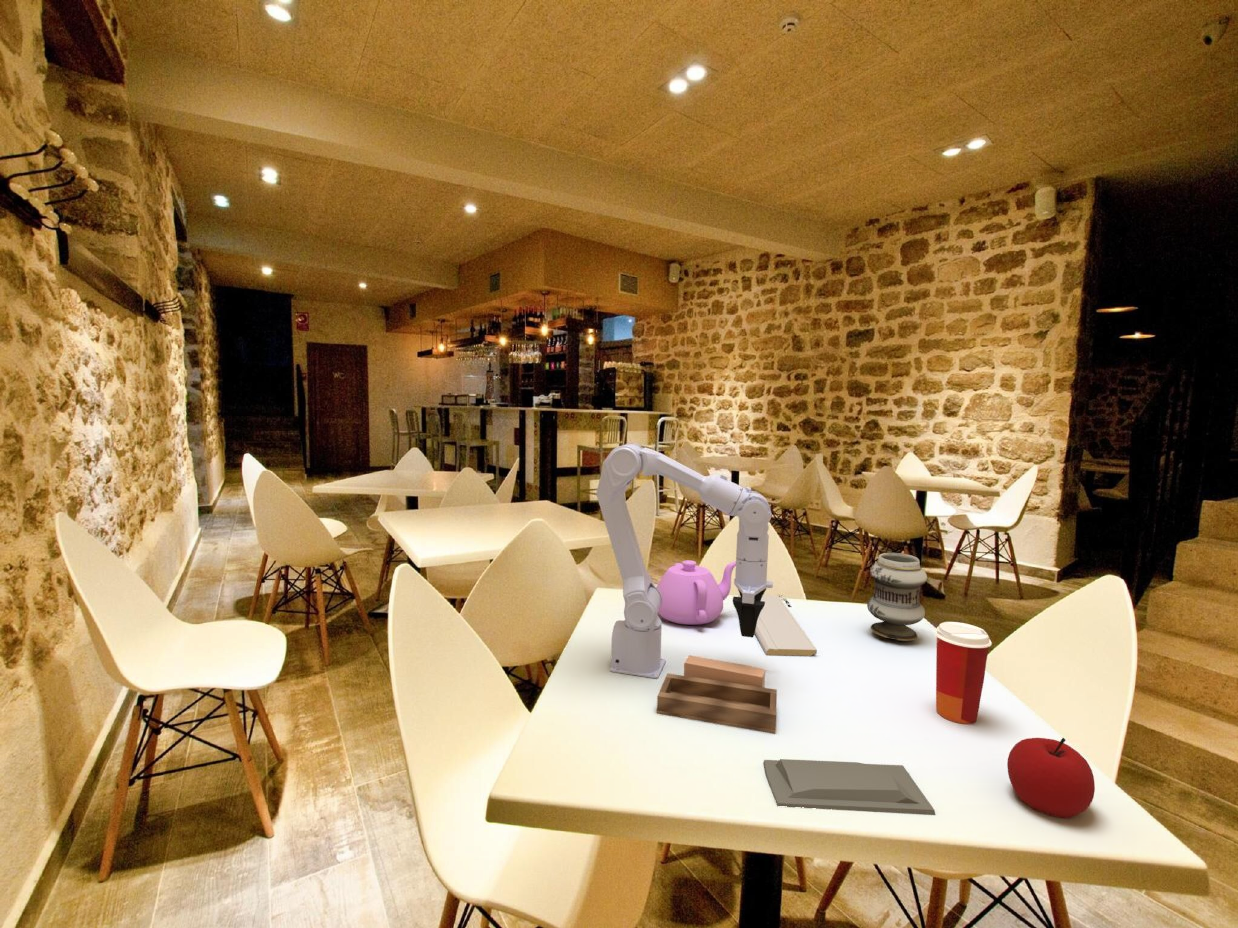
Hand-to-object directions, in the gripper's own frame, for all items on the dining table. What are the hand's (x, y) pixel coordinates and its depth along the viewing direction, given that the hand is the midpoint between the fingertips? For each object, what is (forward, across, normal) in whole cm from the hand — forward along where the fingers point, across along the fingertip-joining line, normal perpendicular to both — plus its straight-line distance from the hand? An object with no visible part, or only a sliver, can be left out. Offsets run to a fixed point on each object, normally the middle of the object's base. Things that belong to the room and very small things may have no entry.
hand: (748, 628), depth 108 cm
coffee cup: (+10, -2, -35) cm, 37 cm away
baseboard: (+9, +30, -11) cm, 33 cm away
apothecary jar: (+10, +34, -31) cm, 48 cm away
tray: (+10, -14, +4) cm, 18 cm away
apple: (+10, -24, -40) cm, 48 cm away
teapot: (+10, +30, +14) cm, 35 cm away
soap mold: (+11, -29, -15) cm, 34 cm away
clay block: (+10, -6, +4) cm, 12 cm away
